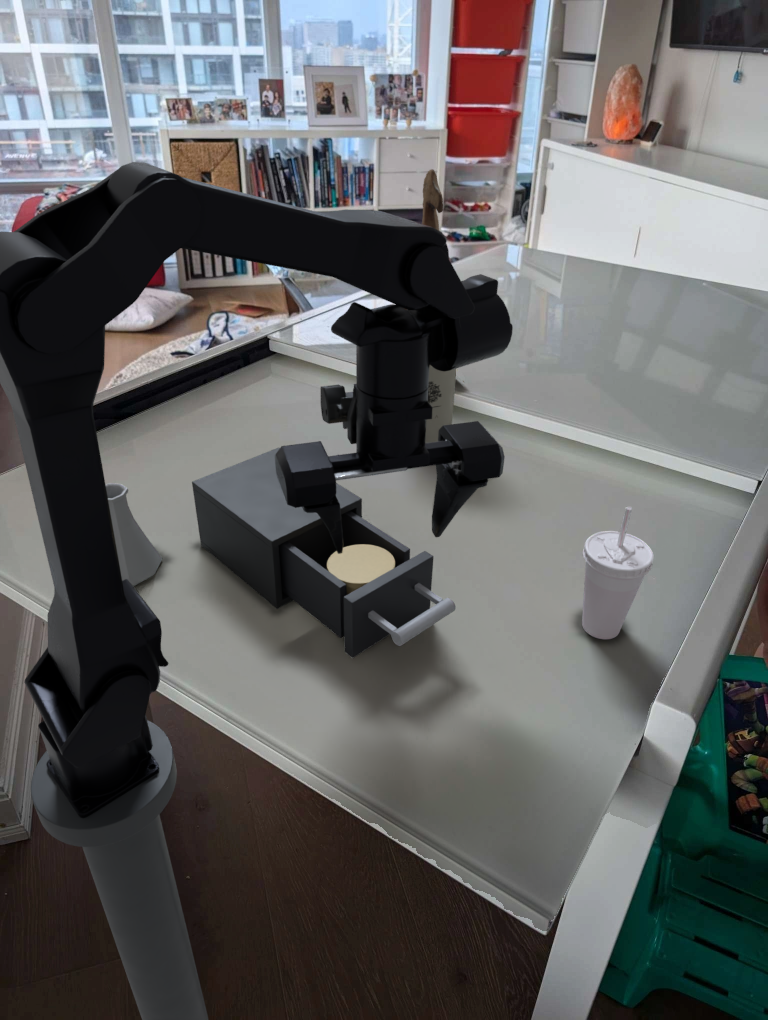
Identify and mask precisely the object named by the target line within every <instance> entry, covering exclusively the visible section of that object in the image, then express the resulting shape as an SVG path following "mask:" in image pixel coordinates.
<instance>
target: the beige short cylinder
mask: <svg viewBox="0 0 768 1020" xmlns="http://www.w3.org/2000/svg"><path fill="white" fill-rule="evenodd" d="M394 568H395V559H394V557H393V556H392V554H391V553H390V552H388V551H387V550H385V549H383V548H381V547H378V546H374V545H368V544H358V545H351V546H347V547H344V548H343V551H342V553H340V554H338V553H337V551H336V552H334V553H333V554H332V555H331V556H330V557H329V559H328V561H327V570H328V571H329V572H330V573H332V574H333V575H334V576H336V577H337V578H338V579H340V580H341V581H342V582H344V583H345V584H346V595H348V594H349V593H351V592H353V591H355V590H356V589H358V588H360V587H362V586H364V585H365V584H367V583H369V582H371V581H372V580H374V579H376V578H378V577H379V576H381V575H383V574H385V573H386V572H388V571H390V570H392V569H394Z"/></svg>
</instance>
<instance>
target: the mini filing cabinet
mask: <svg viewBox="0 0 768 1020" xmlns="http://www.w3.org/2000/svg"><path fill="white" fill-rule="evenodd" d="M280 448H281V447H277V448H274V449H272V450H269V451H265V452H263V453H260V454H259V455H255V456H254V457H251V458H248V459H246V460H243V461H240V462H238V463H236V464H232V465H231V466H227V467H225V468H223V469H221V470H218V471H216V472H215V471H214V472H213V473H211V474H208V475H205V476H203V477H200V478H198V479H195V480H193V481H191V484H192V485H191V486H192V492H193V500H194V505H195V507H194V508H195V513H196V520H197V526H198V533H199V534H198V535H199V540H200V546H201V547H202V548H203V549H205V550H206V551H207V552H208V553H209V554H211V555H212V557H214V558H215V559H216V560H218V561H219V562H220V563H221V564H222V565H224V566H225V567H226V568H227V569H228V570H229V571H231V572H232V573H233V574H234V575H235V576H237V577H238V578H239V579H240V580H241V581H243V582H244V583H245V584H246V585H247V586H249V587H250V588H251V589H252V590H253V591H254V592H256V593H257V594H258V595H259V596H260V597H262V598H263V599H264V600H265V601H266V602H268V603H269V604H270V605H271V606H272V607H274V608H275V609H276V610H279V609H280V608H282V607H284V606H286V605H287V604H289V603H291V602H294V600H292V599H291V598H290V597H289V596H287V595H286V594H285V593H284V592H282V585H281V571H280V557H279V545H280V544H282V543H284V542H286V541H288V540H290V539H292V538H294V537H296V536H298V535H300V534H302V533H305V532H307V531H309V530H311V529H313V528H315V527H317V526H319V525H321V524H323V523H324V522H323V521H322V519H321V518H320V517H319V515H318V514H317V513H307V512H305V511H304V510H303V508H302V507H297V508H295V507H292V506H289V505H287V502H286V500H285V497H284V494H283V491H282V488H281V486H280V483H279V480H278V477H277V474H276V465H275V455H276V453H277V452H278V450H279V449H280ZM335 495H336V497H337V499H338V501H339V503H340V510H341V515H342V514H344V513H346V512H348V511H352V512H353V513H355V514H357V515H358V516H360V517H361V518H363V498H362V497H360V496H358V495H357V494H355V493H354V492H352V491H350V490H349V489H348V488H346V487H344V486H343V485H341V484H339V483H337V482H336V494H335Z"/></svg>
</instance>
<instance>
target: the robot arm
mask: <svg viewBox="0 0 768 1020" xmlns="http://www.w3.org/2000/svg"><path fill="white" fill-rule="evenodd" d="M447 242H448V237H446V235H445V234H444V233H443V232H442V231H440V229H439V230H437V229H435V228H433V227H430V226H427V225H424V224H422V223H420V222H417V221H415V220H411V219H407V218H404V217H401V216H398V215H396V214H391V213H389V212H385V211H383V210H382V211H381V210H375V209H374V210H373V209H372V210H371V209H340V210H335V211H315V210H312V209H307V208H303V207H300V206H295V205H293V204H288V203H284V202H280V201H277V200H273V199H269V198H266V197H265V198H264V197H260V196H257V195H253V194H249V193H245V192H242V191H238V190H234V189H230V188H226V187H223V186H218V185H215V184H211V183H207V182H202V181H199V180H196V179H195V180H194V179H191V178H187V177H183V176H181V175H180V174H177V173H175V172H172V171H170V170H167V169H164V168H161V167H158V166H155V165H153V164H150V163H148V162H139V161H131V162H129V163H126V164H122V165H121V166H120V167H119V168H117V169H116V170H114V171H113V172H111V173H110V174H109V175H108V176H106V177H105V178H104V179H102V180H101V181H100V182H98V183H97V184H95V185H94V186H93V187H91V188H89V189H86V190H85V191H82V192H81V193H78V194H76V195H74V196H72V197H69V198H67V199H66V200H63V201H62V202H59V203H57V204H55V205H53V206H50V207H49V208H46V209H44V210H43V211H41V212H39V213H37V214H36V215H35V216H33V217H32V218H30V219H29V220H28V221H27V222H25V223H24V224H22V225H21V226H19V227H18V228H16V230H14V231H0V386H1V387H2V389H3V391H4V394H5V395H6V397H7V399H8V402H9V404H10V406H11V409H12V410H11V411H12V415H13V419H14V423H15V426H16V431H17V435H18V439H19V443H20V448H21V452H22V453H21V454H22V457H23V460H24V461H23V462H24V465H25V470H26V473H27V479H28V482H29V486H30V491H31V495H32V499H33V503H34V508H35V512H36V516H37V521H38V524H39V529H40V533H41V537H42V541H43V546H44V549H45V554H46V557H47V561H48V562H47V563H48V566H49V567H48V568H49V570H50V575H51V579H52V584H53V589H54V590H53V593H54V594H53V598H52V600H51V604H50V606H49V609H48V612H47V647H46V649H45V650H44V652H43V653H42V654H41V656H40V657H39V659H38V660H37V661H36V663H35V664H34V666H33V667H32V669H31V670H30V671H29V673H28V674H27V676H26V677H25V678H24V680H23V681H24V682H23V684H24V685H25V686H26V688H27V691H28V692H29V694H30V696H31V698H32V700H33V702H34V704H35V706H36V708H37V710H38V712H39V714H40V715H41V716H40V717H42V720H43V721H41V722H40V723H38V729H39V732H40V735H41V738H42V741H43V743H44V746H45V749H46V751H47V753H48V755H49V758H50V759H49V760H48V761H47V764H46V765H47V768H48V770H49V772H50V773H51V775H52V776H53V778H54V779H55V781H56V782H57V784H58V785H59V787H60V788H61V790H62V791H63V793H64V794H65V796H66V797H67V799H68V800H69V802H70V803H71V805H72V806H73V808H74V810H75V811H76V813H77V814H78V816H79V817H80V818H86V817H88V816H90V815H92V814H93V813H95V812H96V811H98V810H100V809H101V808H103V807H104V806H106V805H108V804H109V803H111V802H112V801H114V800H116V799H117V798H119V797H120V796H122V795H124V794H125V793H127V792H128V791H130V790H132V789H133V788H135V787H136V786H138V785H140V784H141V783H143V782H144V781H146V780H148V779H149V778H151V777H152V776H154V775H156V774H157V773H158V772H159V765H158V763H157V762H156V760H155V759H154V758H153V757H152V755H151V754H150V753H149V752H148V751H150V750H152V747H153V744H152V739H151V735H150V731H149V726H148V722H147V720H148V718H147V709H148V706H149V701H150V696H151V694H152V693H154V692H157V690H158V688H159V685H160V683H161V669H160V667H162V668H163V667H164V668H165V667H167V666H169V662H168V660H167V659H166V657H165V656H164V654H163V652H162V636H163V635H162V634H163V632H162V626H161V620H160V618H159V617H158V616H157V615H156V613H154V611H153V610H152V609H151V607H150V606H149V605H148V603H147V602H146V600H145V599H144V598H143V597H142V595H140V593H139V591H138V590H137V589H136V588H135V586H132V584H131V583H130V582H129V580H128V579H125V580H123V581H122V577H121V571H120V565H119V560H118V554H117V548H116V542H115V537H114V531H113V525H112V519H111V514H110V508H109V502H108V496H107V491H106V485H105V484H106V479H105V474H104V469H103V462H102V457H101V453H100V452H101V451H100V450H101V449H100V446H99V439H98V434H97V427H96V422H95V416H94V403H95V400H96V397H97V393H98V389H99V386H100V383H101V379H102V376H103V374H104V369H105V353H106V351H105V350H106V349H105V348H106V326H107V325H109V323H110V322H112V321H113V320H114V319H116V318H117V317H118V316H119V315H121V314H122V313H123V312H124V311H126V310H128V308H129V307H131V306H132V305H134V303H135V302H136V301H137V300H138V299H139V297H140V296H141V295H142V294H143V292H144V291H145V289H146V288H147V286H148V285H149V284H150V283H151V281H152V279H153V278H154V276H155V275H156V274H157V272H159V269H160V268H161V267H162V265H163V264H164V262H165V261H166V260H168V259H169V258H171V257H172V256H173V255H174V254H175V253H177V252H178V251H179V250H180V249H184V250H189V251H194V252H199V253H204V254H209V255H214V256H219V257H220V256H221V257H225V258H230V259H235V260H241V261H247V262H251V263H257V264H262V265H267V266H273V267H278V268H282V269H288V270H294V271H300V272H305V273H310V274H315V275H320V276H324V277H330V278H334V279H336V280H338V281H341V282H343V283H345V284H347V285H349V286H352V287H355V288H357V289H359V290H362V291H364V292H366V293H368V294H371V295H372V296H374V297H377V298H380V299H382V300H384V301H386V302H389V304H386V305H383V306H377V307H374V308H369V307H367V306H364V305H363V304H360V303H358V302H356V301H353V302H351V303H350V305H349V308H348V309H347V310H346V311H345V312H344V313H343V314H342V315H341V316H339V317H338V318H336V320H335V322H333V323H332V325H331V327H330V332H331V333H332V334H334V335H336V336H337V337H340V338H341V339H344V340H345V341H347V342H349V343H351V344H353V345H355V349H356V353H355V355H356V357H355V358H356V362H355V365H356V367H355V369H356V370H355V371H356V373H355V375H356V377H355V378H356V379H355V381H356V383H354V384H353V389H352V391H347V392H346V388H345V386H344V385H340V384H332V385H323V386H320V412H321V418H322V421H323V422H325V423H327V424H328V425H331V424H339V423H342V428H343V429H344V430H347V432H346V433H347V435H346V436H347V439H348V441H349V443H350V444H351V445H356V452H351V453H342V454H336V455H328V453H327V451H326V448H325V447H324V445H323V442H322V441H321V440H318V441H310V442H303V443H296V444H287V445H281V446H280V447H279V448H280V449H279V450H278V452H277V453H276V455H275V465H276V474H277V477H278V480H279V483H280V486H281V488H282V491H283V494H284V497H285V500H286V502H287V505H289V506H292V507H295V508H297V507H302V508H303V510H304V511H305V512H307V513H317V514H318V515H319V517H320V518H321V519H322V521H323V522H324V524H325V525H326V527H327V528H328V531H329V533H330V536H331V538H332V541H333V543H334V545H335V548H336V550H337V553H338V554H340V553H342V551H343V532H342V521H341V510H340V503H339V501H338V499H337V497H336V495H335V494H336V483H337V481H343V480H349V479H350V480H351V479H356V478H363V477H371V476H378V475H384V474H392V473H399V472H406V471H408V470H409V469H417V468H426V467H432V466H435V471H436V472H435V473H436V481H435V489H434V490H435V491H434V497H433V503H432V512H431V532H432V534H433V536H434V537H435V538H440V537H441V536H442V535H443V533H444V532H445V530H446V529H447V527H448V526H449V525H450V523H451V522H452V520H453V519H454V518H455V516H456V515H457V514H458V513H459V512H460V510H461V508H462V507H463V506H464V505H465V504H466V503H467V501H468V500H469V499H470V498H471V497H472V496H473V495H474V494H475V492H476V491H477V490H478V489H480V488H485V487H487V485H488V483H489V480H490V479H491V480H492V479H497V478H498V479H499V478H500V477H501V476H502V474H503V473H504V465H505V459H506V458H505V453H504V449H503V446H502V445H501V444H500V443H499V442H498V441H497V439H496V438H495V437H494V436H493V435H492V434H491V433H490V431H488V429H487V428H486V427H485V426H484V425H483V424H482V423H481V422H480V421H479V420H476V421H475V420H474V421H467V422H460V423H452V424H450V425H443V426H442V427H441V428H440V429H439V432H438V441H437V442H430V443H425V438H426V420H428V419H432V409H433V407H432V406H431V405H430V404H429V402H428V384H429V366H430V365H431V366H432V367H433V368H435V369H436V370H439V371H444V372H445V371H450V370H453V369H459V368H462V367H465V366H469V365H471V364H475V363H479V362H482V361H484V360H488V359H490V358H493V357H498V356H500V355H501V354H502V353H504V352H505V351H506V349H507V348H508V347H509V345H510V343H511V340H512V336H513V329H514V328H513V324H512V323H511V316H510V313H509V310H508V308H507V305H506V303H505V302H504V300H503V299H502V297H501V296H500V295H499V294H498V288H499V280H498V279H496V278H493V277H491V276H487V275H484V274H480V273H479V274H475V275H472V276H469V277H467V278H465V279H464V280H461V279H460V277H459V275H458V273H457V271H456V269H455V268H454V266H453V264H452V262H451V260H450V254H449V247H448V244H447ZM390 303H391V304H390ZM404 308H405V309H404ZM406 309H407V310H406ZM153 767H154V769H152V770H150V769H151V768H153ZM84 809H87V810H86V811H85V812H82V811H83V810H84Z"/></svg>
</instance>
